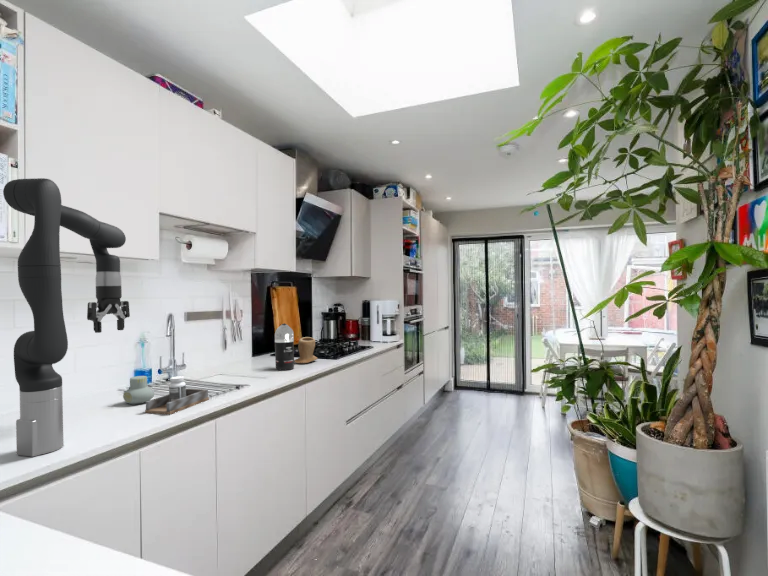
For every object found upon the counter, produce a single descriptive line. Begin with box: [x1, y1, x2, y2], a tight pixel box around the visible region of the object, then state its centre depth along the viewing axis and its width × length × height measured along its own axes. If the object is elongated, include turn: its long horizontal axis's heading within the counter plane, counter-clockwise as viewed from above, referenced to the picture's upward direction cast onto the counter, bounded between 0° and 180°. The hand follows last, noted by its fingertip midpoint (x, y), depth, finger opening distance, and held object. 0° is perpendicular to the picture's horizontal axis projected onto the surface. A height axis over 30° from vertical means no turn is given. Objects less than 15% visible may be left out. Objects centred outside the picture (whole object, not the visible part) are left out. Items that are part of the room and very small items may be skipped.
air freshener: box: [122, 375, 155, 405], centre depth 164 cm, size 11×8×10 cm
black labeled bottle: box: [274, 323, 295, 371], centre depth 227 cm, size 10×10×25 cm
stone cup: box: [294, 336, 319, 364], centre depth 246 cm, size 15×12×15 cm
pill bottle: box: [168, 375, 187, 402], centre depth 157 cm, size 6×6×10 cm
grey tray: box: [144, 388, 210, 415], centre depth 157 cm, size 20×11×4 cm, turn 164°
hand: (109, 331), depth 145 cm, fingers open, 8 cm apart
